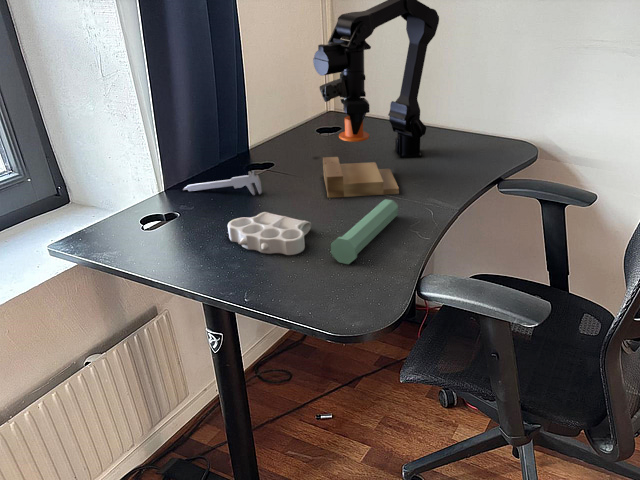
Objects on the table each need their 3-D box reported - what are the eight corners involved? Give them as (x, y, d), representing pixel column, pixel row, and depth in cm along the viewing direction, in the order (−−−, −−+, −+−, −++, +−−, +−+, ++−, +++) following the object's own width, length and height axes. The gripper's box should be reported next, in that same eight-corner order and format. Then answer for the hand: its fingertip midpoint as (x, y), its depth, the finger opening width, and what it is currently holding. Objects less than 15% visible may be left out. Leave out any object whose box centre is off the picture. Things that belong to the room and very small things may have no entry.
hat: (367, 132, 167) (367, 113, 164) (370, 141, 160) (370, 121, 157) (337, 132, 165) (337, 113, 163) (340, 142, 159) (339, 122, 156)
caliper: (262, 194, 154) (259, 170, 151) (261, 195, 153) (258, 171, 150) (184, 189, 156) (180, 165, 152) (182, 191, 155) (178, 167, 151)
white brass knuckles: (324, 234, 135) (287, 263, 124) (256, 218, 142) (215, 245, 130) (323, 220, 134) (286, 248, 122) (254, 205, 140) (213, 231, 128)
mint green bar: (385, 190, 141) (335, 232, 122) (406, 203, 141) (360, 247, 121) (376, 210, 145) (326, 254, 125) (397, 223, 144) (350, 269, 125)
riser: (390, 173, 167) (390, 154, 164) (399, 193, 155) (399, 173, 152) (323, 177, 164) (322, 157, 161) (327, 197, 152) (326, 176, 149)
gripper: (318, 62, 160) (321, 121, 168) (322, 78, 145) (325, 143, 153) (361, 61, 162) (362, 120, 170) (369, 78, 146) (369, 142, 154)
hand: (354, 131), depth 162 cm, fingers closed on hat, 5 cm apart
